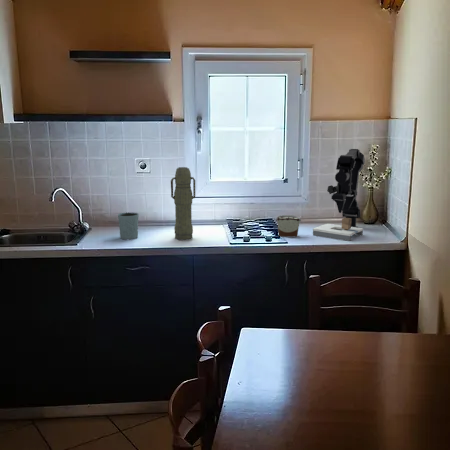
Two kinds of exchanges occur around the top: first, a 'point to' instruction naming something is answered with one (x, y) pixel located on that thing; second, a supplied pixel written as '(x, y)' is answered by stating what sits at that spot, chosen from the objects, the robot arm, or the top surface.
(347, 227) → the T-peg
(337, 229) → the keyhole plate
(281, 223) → the food container
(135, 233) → the green plant pot
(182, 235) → the thermos
